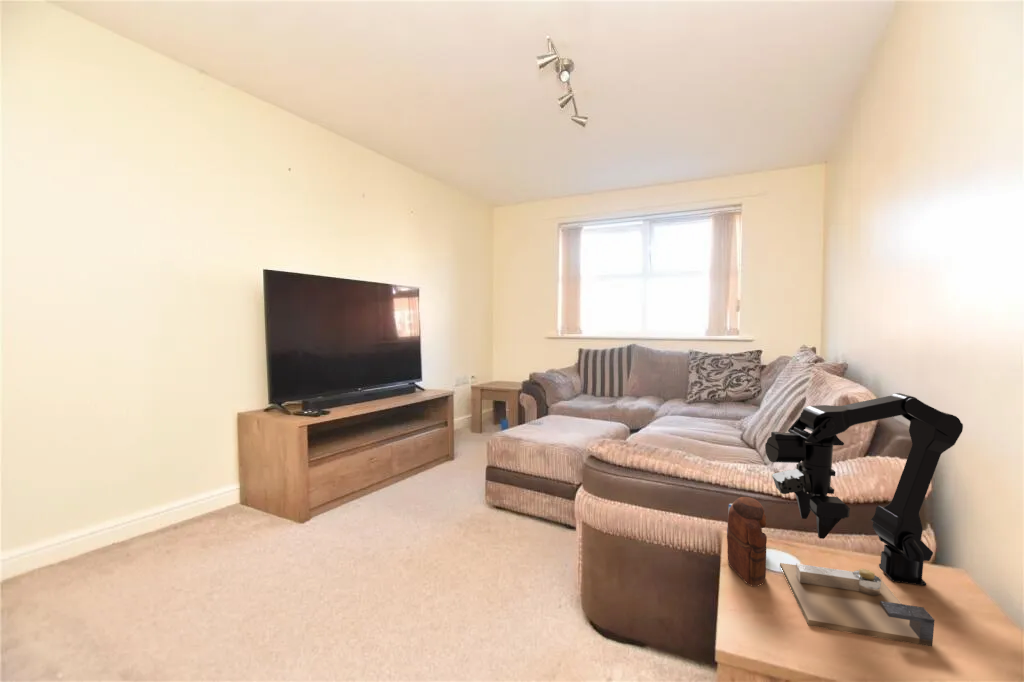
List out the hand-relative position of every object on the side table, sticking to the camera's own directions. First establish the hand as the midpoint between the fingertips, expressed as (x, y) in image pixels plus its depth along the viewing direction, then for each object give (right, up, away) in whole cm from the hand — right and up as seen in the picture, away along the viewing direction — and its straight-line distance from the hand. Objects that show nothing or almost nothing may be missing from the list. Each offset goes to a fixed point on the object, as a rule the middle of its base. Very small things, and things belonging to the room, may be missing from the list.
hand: (812, 528), depth 105 cm
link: (+2, -10, -5) cm, 12 cm away
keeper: (+5, -13, -19) cm, 23 cm away
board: (+1, -12, -9) cm, 15 cm away
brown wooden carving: (-14, -11, +2) cm, 18 cm away
